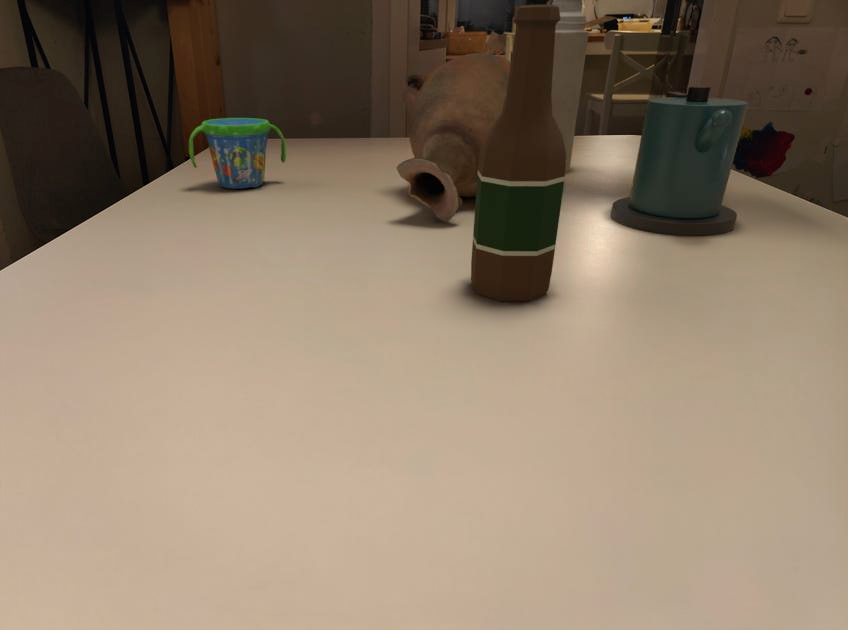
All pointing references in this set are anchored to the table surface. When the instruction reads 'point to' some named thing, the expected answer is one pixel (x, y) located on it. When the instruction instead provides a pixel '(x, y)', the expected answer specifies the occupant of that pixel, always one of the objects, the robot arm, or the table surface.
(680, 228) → the kettle base
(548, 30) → the beer bottle
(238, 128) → the snack cup
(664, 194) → the kettle
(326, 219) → the table surface
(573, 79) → the thermos bottle
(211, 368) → the table surface
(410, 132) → the jug
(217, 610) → the table surface
